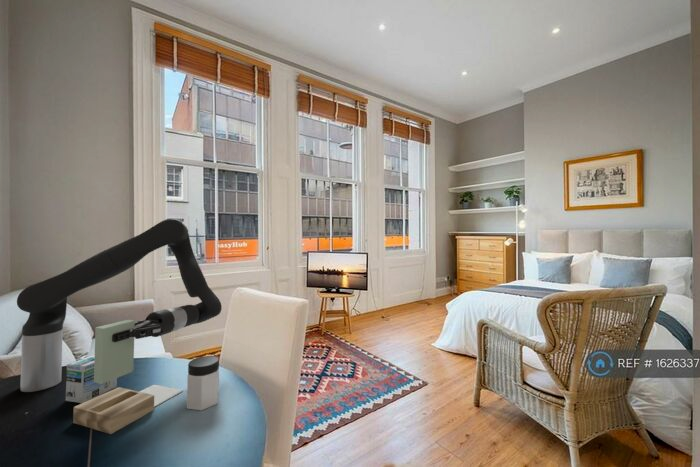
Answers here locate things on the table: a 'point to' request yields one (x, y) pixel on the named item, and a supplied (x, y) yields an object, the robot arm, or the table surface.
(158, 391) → the mat
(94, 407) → the grooved wooden block
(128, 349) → the grey-green angular block
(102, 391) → the light bulb box
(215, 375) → the jar
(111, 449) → the table surface
